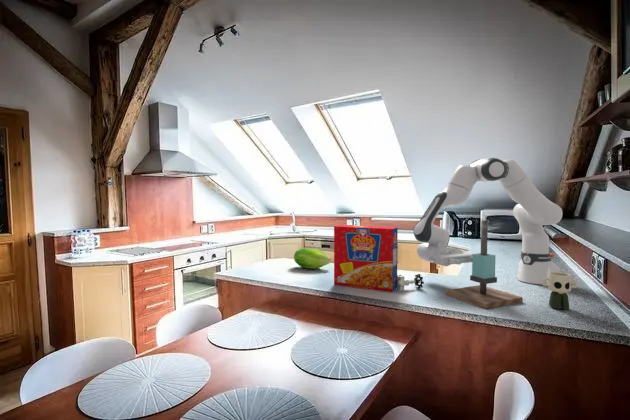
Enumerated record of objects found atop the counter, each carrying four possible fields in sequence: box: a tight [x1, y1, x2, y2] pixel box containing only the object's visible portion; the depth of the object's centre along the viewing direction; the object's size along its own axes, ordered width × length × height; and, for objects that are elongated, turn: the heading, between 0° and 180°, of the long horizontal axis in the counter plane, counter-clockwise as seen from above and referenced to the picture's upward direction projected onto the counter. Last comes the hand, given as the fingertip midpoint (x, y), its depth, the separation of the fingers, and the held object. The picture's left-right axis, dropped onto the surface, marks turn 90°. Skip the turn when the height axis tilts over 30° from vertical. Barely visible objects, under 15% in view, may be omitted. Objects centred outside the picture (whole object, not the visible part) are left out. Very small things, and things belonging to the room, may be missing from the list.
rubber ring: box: [469, 274, 498, 284], centre depth 140 cm, size 7×7×2 cm
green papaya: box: [293, 247, 332, 270], centre depth 198 cm, size 13×23×12 cm, turn 64°
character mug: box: [542, 271, 578, 310], centre depth 128 cm, size 11×7×13 cm, turn 74°
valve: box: [396, 273, 425, 292], centre depth 155 cm, size 7×7×12 cm
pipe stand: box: [445, 220, 524, 310], centre depth 140 cm, size 20×20×32 cm
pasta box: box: [333, 224, 399, 293], centre depth 159 cm, size 28×8×28 cm, turn 62°
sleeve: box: [471, 252, 496, 279], centre depth 140 cm, size 6×6×9 cm
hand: (468, 261), depth 147 cm, fingers open, 8 cm apart
